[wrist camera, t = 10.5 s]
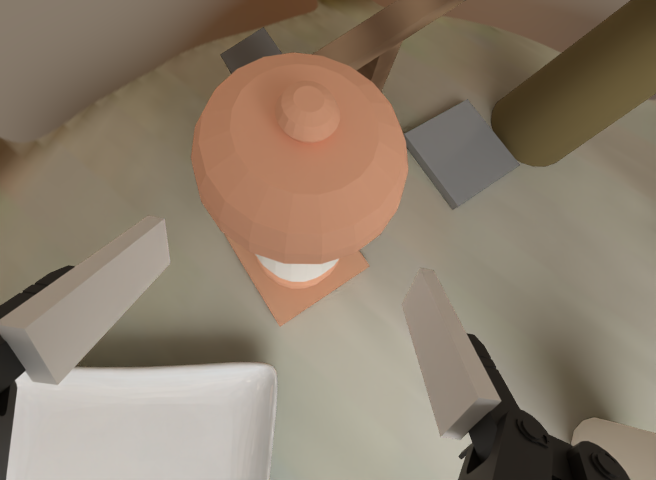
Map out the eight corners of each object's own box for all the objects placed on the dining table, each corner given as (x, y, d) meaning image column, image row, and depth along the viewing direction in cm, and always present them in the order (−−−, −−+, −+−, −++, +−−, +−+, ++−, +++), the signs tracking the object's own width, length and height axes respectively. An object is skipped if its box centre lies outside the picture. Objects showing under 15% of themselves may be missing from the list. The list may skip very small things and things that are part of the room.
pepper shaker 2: (582, 146, 33) (946, -48, 15) (525, 180, 31) (871, 2, 12) (532, 82, 35) (806, -167, 16) (475, 110, 32) (717, -143, 14)
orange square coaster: (313, 187, 27) (314, 183, 26) (366, 267, 26) (369, 266, 25) (226, 235, 25) (223, 233, 24) (280, 325, 24) (279, 326, 23)
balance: (425, 64, 33) (523, -112, 19) (453, 100, 32) (578, -55, 18) (233, 157, 27) (166, 0, 13) (263, 204, 26) (226, 92, 12)
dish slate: (462, 105, 32) (467, 99, 31) (512, 169, 31) (520, 164, 30) (400, 139, 30) (404, 133, 29) (452, 209, 29) (458, 206, 28)
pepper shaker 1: (267, 207, 25) (192, -51, 7) (341, 221, 26) (459, 20, 7) (251, 282, 23) (84, 215, 5) (330, 295, 24) (449, 279, 5)
